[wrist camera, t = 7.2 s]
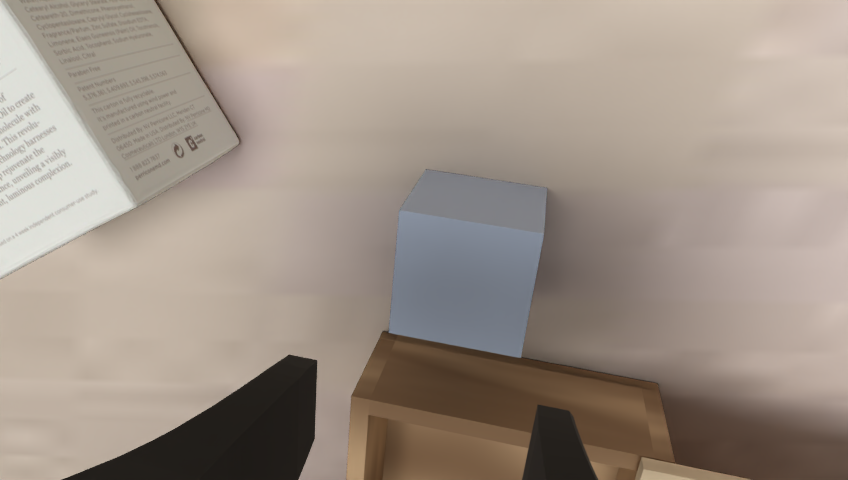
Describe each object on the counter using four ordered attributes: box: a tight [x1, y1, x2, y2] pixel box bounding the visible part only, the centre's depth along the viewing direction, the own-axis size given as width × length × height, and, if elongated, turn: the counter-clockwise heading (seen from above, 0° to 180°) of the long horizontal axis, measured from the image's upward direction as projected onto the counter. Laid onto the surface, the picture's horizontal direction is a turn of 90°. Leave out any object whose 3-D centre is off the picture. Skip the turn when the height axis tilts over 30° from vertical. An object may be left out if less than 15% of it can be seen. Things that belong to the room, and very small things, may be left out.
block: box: [389, 169, 547, 358], centre depth 20 cm, size 4×4×4 cm
